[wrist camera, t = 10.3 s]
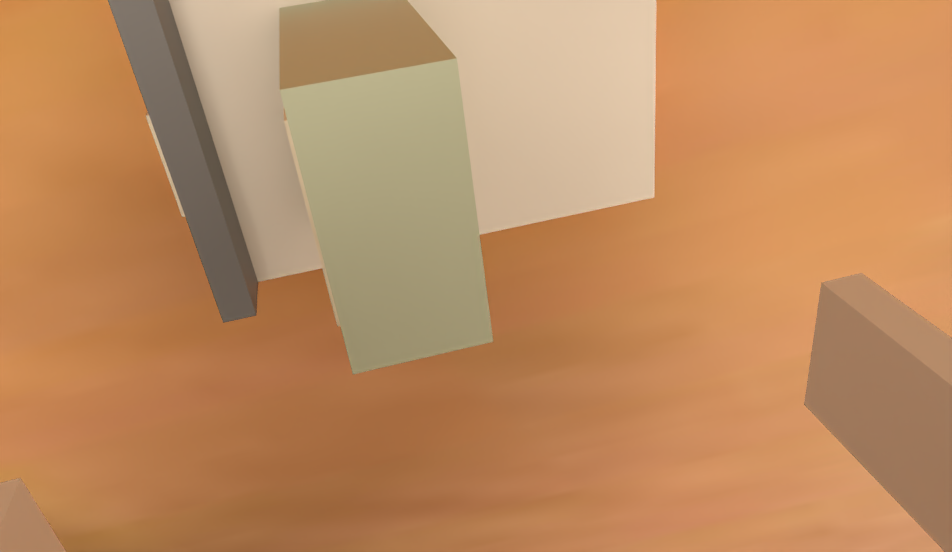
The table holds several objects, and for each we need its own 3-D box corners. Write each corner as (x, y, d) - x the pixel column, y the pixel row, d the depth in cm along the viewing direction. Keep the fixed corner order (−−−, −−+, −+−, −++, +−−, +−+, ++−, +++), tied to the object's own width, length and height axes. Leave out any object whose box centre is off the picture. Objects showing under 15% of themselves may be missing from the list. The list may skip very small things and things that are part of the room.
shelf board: (224, 274, 30) (217, 323, 27) (116, -40, 24) (92, -23, 21) (642, 186, 33) (681, 222, 30) (643, -120, 26) (691, -116, 23)
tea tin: (274, 8, 25) (272, 90, 16) (397, -12, 25) (457, 58, 17) (327, 221, 29) (347, 375, 20) (431, 200, 29) (493, 341, 21)
